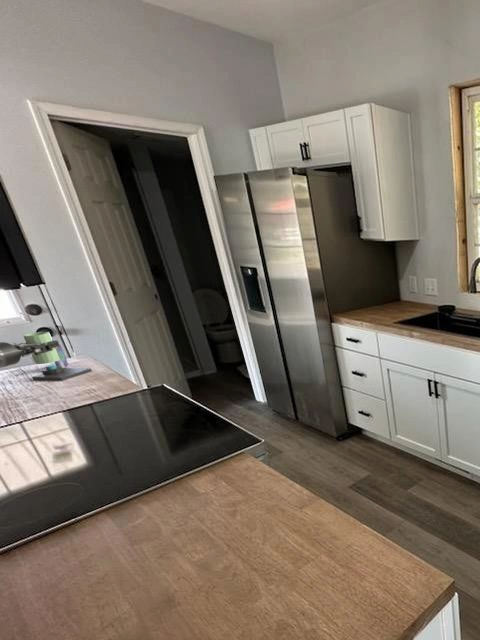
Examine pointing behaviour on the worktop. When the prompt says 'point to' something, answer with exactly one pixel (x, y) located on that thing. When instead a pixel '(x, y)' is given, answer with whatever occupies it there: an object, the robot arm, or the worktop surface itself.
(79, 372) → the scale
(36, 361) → the cup
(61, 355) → the french fries carton
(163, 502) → the worktop surface
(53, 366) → the tare button
